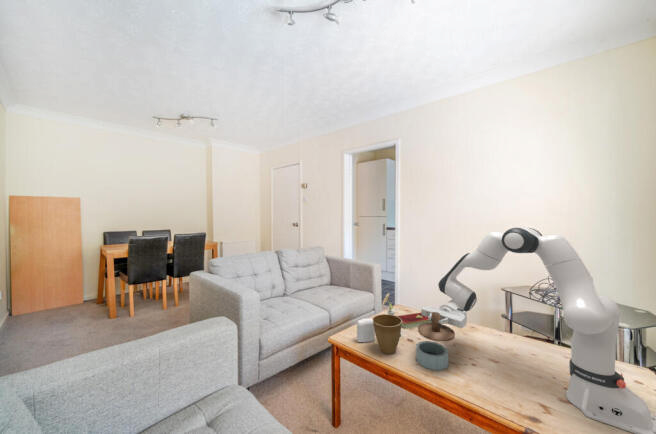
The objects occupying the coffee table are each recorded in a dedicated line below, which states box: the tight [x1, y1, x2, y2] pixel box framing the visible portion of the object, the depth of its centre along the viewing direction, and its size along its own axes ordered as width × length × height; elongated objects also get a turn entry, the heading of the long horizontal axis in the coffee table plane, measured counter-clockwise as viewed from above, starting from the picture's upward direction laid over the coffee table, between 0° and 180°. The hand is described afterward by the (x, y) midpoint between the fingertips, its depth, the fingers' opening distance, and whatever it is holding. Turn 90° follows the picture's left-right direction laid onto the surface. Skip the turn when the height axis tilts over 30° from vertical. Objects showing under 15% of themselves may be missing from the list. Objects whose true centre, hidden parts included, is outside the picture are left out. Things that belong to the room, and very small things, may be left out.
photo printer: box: [356, 318, 376, 343], centre depth 141 cm, size 10×4×12 cm, turn 103°
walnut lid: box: [417, 312, 456, 343], centre depth 118 cm, size 16×16×9 cm
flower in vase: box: [382, 293, 402, 335], centre depth 147 cm, size 13×11×25 cm
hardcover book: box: [396, 312, 432, 330], centre depth 162 cm, size 12×21×4 cm, turn 106°
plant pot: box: [372, 313, 402, 355], centre depth 131 cm, size 15×15×16 cm
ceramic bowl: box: [415, 340, 449, 371], centre depth 120 cm, size 14×14×6 cm
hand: (434, 320), depth 118 cm, fingers closed on walnut lid, 4 cm apart
